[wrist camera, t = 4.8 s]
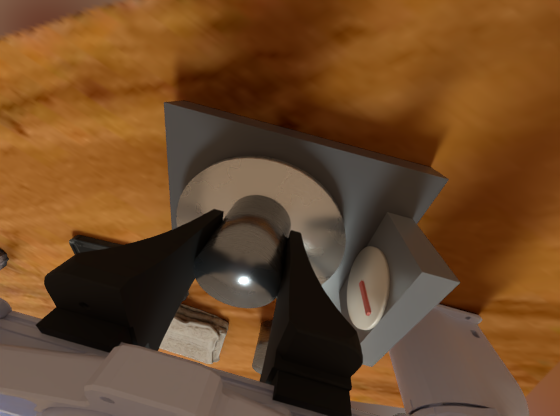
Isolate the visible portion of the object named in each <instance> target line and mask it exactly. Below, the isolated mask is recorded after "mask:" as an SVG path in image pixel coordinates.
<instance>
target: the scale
mask: <svg viewBox="0 0 560 416" xmlns="http://www.w3.org/2000/svg"><path fill="white" fill-rule="evenodd" d="M164 111H165V127H166V142H167V158H168V174H169V190H170V206H171V221H172V230H173V229H175V228H177V221H176V214H177V206H178V202H179V199H180V197H181V194H182V192H183V191H184V189H185V187H186V186H187V185H188V183H189V182H190V181H191V180H192V179H193V178H194V177H195V176H197V175H198V174H199V173H200V172H202V171H203V170H204V169H206V168H207V167H209V166H211V165H213V164H214V163H216V162H219V161H222V160H224V159H228V158H232V157H237V156H250V155H252V156H265V157H270V158H275V159H279V160H282V161H284V162H287V163H290V164H292V165H294V166H296V167H298V168H300V169H302V170H304V171H305V172H307V173H308V174H310V175H311V176H313V177H314V178H315V179H316V180H317V181H319V182H320V183H321V184H322V185H323V186H324V187H325V188H326V190H327V191H328V192H329V193H330V194H331V196H332V197H333V199H334V201H335V202H336V204H337V206H338V208H339V210H340V213H341V216H342V219H343V223H344V228H345V236H346V244H345V251H344V255H343V258H342V261H341V263H340V265H339V267H338V268H337V270H336V271H335V273H334V274H333V275H332V276H331V277H330V278H329V279H328V280H327V281H326V282H325V283H323V284H322V287H323V289H324V290H325V292H326V293H327V295H328V296H329V298H330V299H331V301H332V302H333V304H334V305H335V306H336V308H337V309H338V310H339V311H340V313H341V314H342V315H343V316H344V317H345V319H346V320H347V321H348V322H349V323H350V324H351V325H352V326H353V328H354V329H355V330H356V331H357V334H358V337H359V341H360V345H361V349H362V354H363V364H364V365H367V366H371V367H372V366H373V365H374V364H375V363H376V362H378V361H379V360H380V359H381V358H382V357H383V356H384V355H385V354H386V353H387V352H388V351H389V350H390V349H391V348H392V347H393V346H394V345H395V344H396V343H397V342H399V341H400V340H401V339H402V338H403V337H404V336H405V335H406V334H407V333H408V332H409V331H410V330H411V329H412V328H413V327H414V326H415V325H416V324H417V323H419V322H420V321H421V320H422V319H423V318H424V317H425V316H426V315H427V314H428V313H429V312H430V311H431V310H432V309H433V308H434V307H435V306H436V305H437V304H438V303H440V302H441V301H442V300H443V299H444V298H445V297H446V296H447V295H448V294H449V293H450V292H451V291H452V290H453V289H454V288H455V287H456V286H457V285H458V284H460V281H459V280H458V279H457V277H456V276H455V275H454V273H453V272H452V271H451V269H450V268H449V267H448V265H447V264H446V263H445V261H444V260H443V259H442V257H441V256H440V255H439V253H438V252H437V251H436V249H435V248H434V247H433V245H432V244H431V243H430V241H429V240H428V239H427V237H426V236H425V235H424V233H423V232H422V231H421V229H420V228H419V227H418V225H417V223H418V222H419V220H420V219H421V217H422V216H423V215H424V213H425V212H426V210H427V209H428V208H429V206H430V205H431V203H432V202H433V201H434V199H435V198H436V197H437V195H438V194H439V192H440V191H441V190H442V188H443V187H444V185H445V184H446V183H447V181H448V180H449V179H447V178H446V177H445V176H443V175H442V174H440V173H439V172H437V171H436V170H434V169H433V168H431V167H428V166H424V165H421V164H417V163H413V162H409V161H406V160H402V159H398V158H395V157H391V156H387V155H384V154H380V153H376V152H372V151H369V150H365V149H361V148H358V147H354V146H350V145H347V144H343V143H339V142H335V141H332V140H328V139H324V138H321V137H317V136H313V135H310V134H306V133H302V132H298V131H295V130H291V129H287V128H284V127H280V126H276V125H273V124H269V123H265V122H261V121H258V120H254V119H250V118H247V117H243V116H239V115H236V114H232V113H228V112H225V111H221V110H217V109H213V108H210V107H206V106H202V105H199V104H195V103H191V102H188V101H173V102H164Z"/></svg>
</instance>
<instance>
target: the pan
mask: <svg viewBox="0 0 560 416" xmlns="http://www.w3.org/2000/svg"><path fill="white" fill-rule="evenodd" d="M249 195H262V196H266V197H269V198H272V199H273V200H275V201H277V202H278V203H280V204H281V205H282V206H283V207H284V208H285V210H286V211H287V213H288V215H289V217H290V221H291V229H290V231H291V230H293V231H297V232H300V233H301V234H302V239H303V243H304V247H305V250H306V253H307V255H308V258H309V261H310V263H311V266H312V268H313V270H314V272H315V274H316V276H317V278H318V280H319V282H320V284H321V285H322V284H323V283H325V282H326V281H327V280H328V279H329V278H330V277H331V276H332V275H333V274H334V273H335V271H336V270H337V268H338V267H339V265H340V263H341V261H342V258H343V255H344V251H345V244H346V236H345V228H344V223H343V219H342V216H341V213H340V210H339V208H338V206H337V204H336V202H335V201H334V199H333V197H332V196H331V194H330V193H329V192H328V191H327V190H326V188H325V187H324V186H323V185H322V184H321V183H320V182H319V181H317V180H316V179H315V178H314V177H313V176H311V175H310V174H308V173H307V172H305V171H304V170H302V169H300V168H298V167H296V166H294V165H292V164H290V163H287V162H284V161H282V160H279V159H275V158H270V157H265V156H252V155H250V156H237V157H232V158H228V159H224V160H222V161H219V162H216V163H214V164H213V165H211V166H209V167H207V168H206V169H204V170H203V171H202V172H200V173H199V174H198V175H197V176H195V177H194V178H193V179H192V180H191V181H190V182H189V183H188V185H187V186H186V187H185V189H184V191H183V192H182V194H181V197H180V199H179V202H178V206H177V214H176V221H177V227H179V226H182V225H184V224H186V223H188V222H190V221H192V220H194V219H196V218H198V217H200V216H202V215H203V214H205V213H207V212H209V211H211V210H213V209H217V210H221V211H224V214H223V219H224V218H225V216H226V215H227V213H228V212H229V210H230V209H231V207H232V206H233V205H234V203H235V202H236V201H238V200H239V199H241V198H242V197H245V196H249ZM276 298H277V297H276Z"/></svg>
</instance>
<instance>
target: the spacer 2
mask: <svg viewBox="0 0 560 416" xmlns="http://www.w3.org/2000/svg"><path fill="white" fill-rule="evenodd" d="M272 322H273V320H269V321H265V322H263V323H262V325H261V329H260V333H259V337H258V342H257V346H256V351H255V355H254V359H253V364H252V367H253V369H254V370H255V371H256V372H258V373H260V374H261V373H262V369H263V364H264V359H265V355H266V350H267V346H268V341H269V336H270V331H271V327H272Z"/></svg>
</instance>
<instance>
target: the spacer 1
mask: <svg viewBox="0 0 560 416" xmlns="http://www.w3.org/2000/svg"><path fill="white" fill-rule="evenodd" d="M290 229H291V221H290V217H289V215H288V213H287V211H286V210H285V208H284V207H283V206H282V205H281V204H280V203H278V202H277V201H275V200H273V199H272V198H269V197H266V196H262V195H249V196H245V197H242V198H241V199H239V200H238V201H236V202H235V203H234V205H233V206H232V207H231V209H230V210H229V212H228V213H227V215H226V216H225V218H224V219H223V220H222V222H221V223H220V225H219V226H218V228H217V229H216V231H215V232H214V233H213V235H212V236H211V238H210V239H209V241H208V242H207V243H206V245H205V246H204V248H203V249H202V251H201V252H200V254H199V255H198V256H197V258H196V260H195V262H194V266H193V271H194V275H195V278H196V280H197V282H198V283H199V285H200V286H201V287H202V288H203V289H204V290H205V291H206V292H207V293H208V294H209V295H210V296H212V297H214V298H215V299H217V300H219V301H221V302H223V303H225V304H228V305H231V306H235V307H241V308H257V307H262V306H265V305H267V304H269V303H271V302H272V301H273V300H274V299H275V298H276V297H277V295H278V293H279V290H280V284H281V279H282V273H283V267H284V262H285V254H286V247H287V242H288V237H289V234H290Z"/></svg>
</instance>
